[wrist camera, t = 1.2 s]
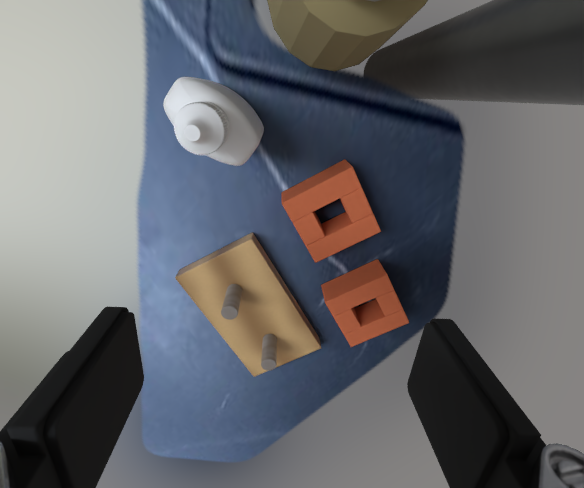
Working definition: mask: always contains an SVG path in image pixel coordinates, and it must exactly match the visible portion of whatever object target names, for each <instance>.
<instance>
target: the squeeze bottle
mask: <svg viewBox="0 0 584 488" xmlns="http://www.w3.org/2000/svg"><path fill="white" fill-rule="evenodd" d="M267 1H268V5H269V10H270V14H271V18H272V22H273V27H274V29H275V31H276V32H277V34H278V35H279V37H280V39H281V40H282V42H283V43H284V45H285V46H286V48H287V49H288V51H289V52H290V53H291V54H293V55H294V56H295V57H297V58H298V59H300V60H301V61H303V62H304V63H306V64H307V65H308V66H310V67H313V68H319V69H325V70H331V71H337V70H341V69H344V68H348V67H351V66H355V65H358V64H360V63H361V62H362V61H364V60H365V59H366V58H368V57H369V56H370V55H371V54H372V53H374V52H375V51H376V50H377V49H379V48H380V47H381V46H382V45H383V44H384V43H385V42H386V41H387V40H388V39H390V37H392V36H393V35H394V34H395V33H396V32H397V31H398V30H399V29H400V28H401V27H402V26H403V25H404V24H405V23H406V22H407V21H408V20H410V19H411V17H413V15H415V14H416V13H417V12H418V11H419V10H420V9H421V8H422V7H423V6H424V5H425V4H426V2H427V1H428V0H267Z"/></svg>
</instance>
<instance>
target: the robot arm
mask: <svg viewBox="0 0 584 488" xmlns="http://www.w3.org/2000/svg"><path fill="white" fill-rule="evenodd" d="M143 381H144V374H143V368H142V362H141V355H140V349H139V343H138V336H137V330H136V324H135V318H134V314H133V313H131V312H129V311H128V309H127V308H125V307H105V308H104V309H103V310H102V311H101V313H100V314H99V315H98V316H97V318H96V319H95V320H94V321H93V323H92V324H91V325H90V326H89V327H88V329H87V330H86V331H85V333H84V334H83V335H82V336H81V337H80V339H79V340H78V341H77V342H76V344H75V345H74V346H73V347H72V348H71V350H70V351H68V352H66V353H65V354H64V355H63V356H62V357H61V358H60V360H59V361H58V362H57V363H56V364H55V366H54V367H53V368H52V369H51V370H50V372H49V373H48V374H47V375H46V377H45V378H44V379H43V380H42V381H41V383H40V384H39V385H38V386H37V388H36V389H35V390H34V391H33V392H32V394H31V395H30V396H29V397H28V398H27V400H26V401H25V402H24V403H23V405H22V406H21V407H20V408H19V410H18V411H17V412H16V413H15V414H14V415H13V417H12V418H11V419H10V420H9V422H8V423H7V424H6V425H5V426H4V428H3V429H2V430H1V431H0V488H96V486H97V483H98V481H99V479H100V477H101V475H102V473H103V470H104V468H105V466H106V464H107V462H108V460H109V457H110V455H111V453H112V451H113V449H114V446H115V445H116V442H117V440H118V438H119V436H120V434H121V431H122V429H123V427H124V425H125V423H126V421H127V418H128V417H129V414H130V412H131V410H132V408H133V406H134V404H135V401H136V399H137V397H138V395H139V393H140V391H141V388H142V385H143ZM408 392H409V395H410V397H411V400H412V402H413V404H414V406H415V409H416V411H417V413H418V416H419V418H420V420H421V423H422V425H423V427H424V429H425V432H426V434H427V436H428V439H429V441H430V443H431V445H432V448H433V450H434V452H435V455H436V457H437V459H438V462H439V464H440V466H441V468H442V471H443V473H444V475H445V478H446V480H447V482H448V484H449V487H450V488H584V454H583V453H582V452H580V451H578V450H576V449H574V448H571V447H569V446H566V445H562V444H549V445H547V446H546V444H545V443H544V442H543V441H542V439H541V438H540V436H541V434H540V433H539V432H538V430H537V429H536V428H535V426H534V425H533V424H532V423H531V421H530V420H529V419H528V418H527V416H526V415H525V413H524V412H523V411H522V410H521V408H520V407H519V406H518V405H517V403H516V402H515V401H514V399H513V398H512V397H511V395H510V394H509V393H508V391H507V390H506V389H505V388H504V386H503V385H502V384H501V382H500V381H499V380H498V379H497V377H496V376H495V374H494V373H493V372H492V371H491V369H490V368H489V367H488V365H487V364H486V363H485V361H484V360H483V359H482V358H481V356H480V355H479V354H478V352H477V351H476V350H475V349H474V347H473V346H472V345H471V343H470V342H469V341H468V339H467V338H466V337H465V336H464V334H463V333H462V332H461V330H460V329H459V328H458V326H457V325H456V324H455V323H454V321H453V320H450V319H432V320H431V321H430V323H427V324H426V325H425V327H424V330H423V334H422V337H421V340H420V344H419V347H418V350H417V353H416V357H415V360H414V363H413V367H412V370H411V373H410V377H409V380H408Z"/></svg>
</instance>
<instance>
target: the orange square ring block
mask: <svg viewBox="0 0 584 488" xmlns="http://www.w3.org/2000/svg"><path fill="white" fill-rule="evenodd" d="M321 287H322V291H323V295H324V300H325V303H326V305H327V307H328V308H329V310H330V312H331V314H332V315H333V317H334V319H335V320H336V322H337V324H338V326H339V327H340V329H341V331H342V332H343V334H344V336H345V337H346V339H347V341H348V343H349V344H350V346H351V347H352V346H355V345H357V344H360V343H362V342H364V341H367V340H369V339H371V338H374V337H376V336H379V335H381V334H383V333H386V332H388V331H391V330H393V329H395V328H398V327H400V326H402V325H405V324H407V323H409V321H408V318H407V316H406V314H405V312H404V310H403V308H402V305H401V303H400V301H399V299H398V297H397V295H396V292H395V290H394V288H393V286H392V284H391V282H390V279H389V277H388V275H387V273H386V272H385V270H384V268H383V267H382V265H381V263H380V262H379V260H378V259H376V260H374V261H372V262H370V263H367V264H365V265H363V266H361V267H359V268H357V269H354V270H352V271H350V272H348V273H346V274H344V275H341V276H339V277H337V278H335V279H333V280H331V281H328V282H326V283H324V284H322V285H321ZM374 298H376V299H375V300H372V301H370V302H368V303H366V304H363V305H361V306H359V307H357V308H354V307H356V306H358V305H360V304H362V303H365V302H367V301H369V300H371V299H374Z"/></svg>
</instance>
